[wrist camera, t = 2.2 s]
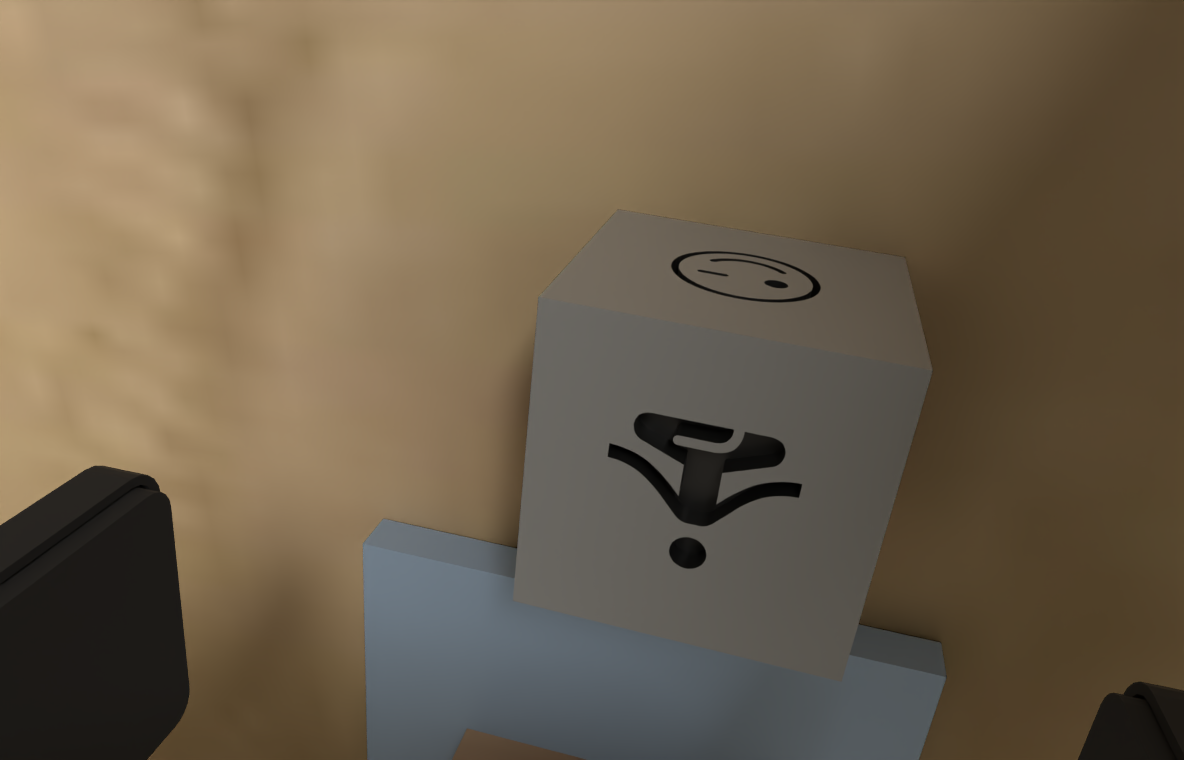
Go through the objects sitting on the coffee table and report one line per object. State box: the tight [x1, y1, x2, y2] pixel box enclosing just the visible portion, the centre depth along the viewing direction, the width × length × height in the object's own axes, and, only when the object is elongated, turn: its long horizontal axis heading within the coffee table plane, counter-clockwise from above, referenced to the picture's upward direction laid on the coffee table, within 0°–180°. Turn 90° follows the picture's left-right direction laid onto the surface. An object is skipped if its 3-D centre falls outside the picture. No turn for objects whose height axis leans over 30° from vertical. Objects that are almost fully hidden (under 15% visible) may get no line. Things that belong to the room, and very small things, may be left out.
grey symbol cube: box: [513, 210, 933, 682], centre depth 15 cm, size 5×5×5 cm
